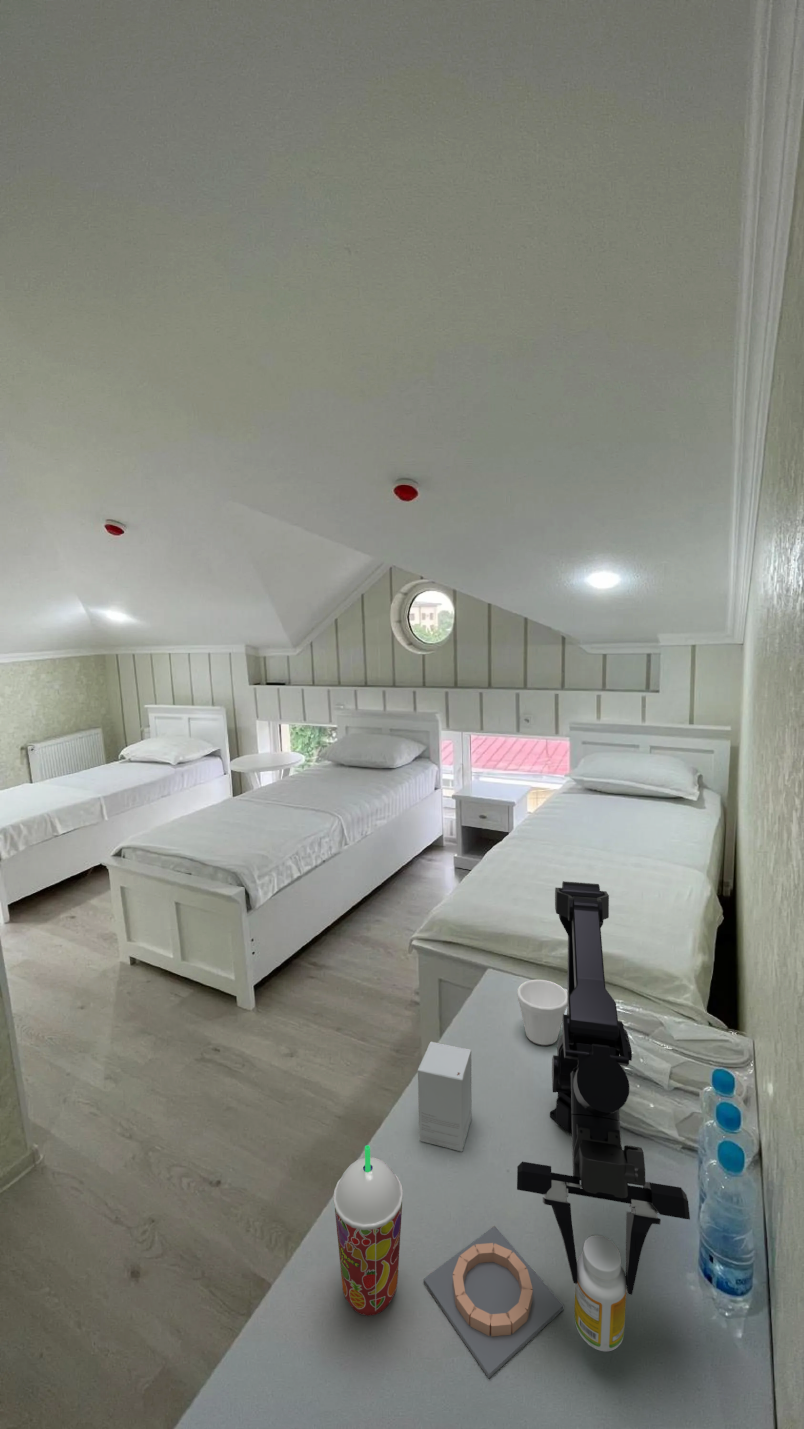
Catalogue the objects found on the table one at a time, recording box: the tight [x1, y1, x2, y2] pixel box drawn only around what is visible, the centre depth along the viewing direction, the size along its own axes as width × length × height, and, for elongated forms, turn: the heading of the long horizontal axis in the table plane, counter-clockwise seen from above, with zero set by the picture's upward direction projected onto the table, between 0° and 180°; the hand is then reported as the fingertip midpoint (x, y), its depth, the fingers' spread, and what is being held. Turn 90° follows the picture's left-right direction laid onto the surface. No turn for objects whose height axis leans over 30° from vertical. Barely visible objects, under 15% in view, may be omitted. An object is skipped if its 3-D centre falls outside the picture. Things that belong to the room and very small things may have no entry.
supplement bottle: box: [573, 1234, 627, 1352], centre depth 68 cm, size 5×5×10 cm
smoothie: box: [332, 1144, 404, 1317], centre depth 74 cm, size 8×8×20 cm
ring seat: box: [423, 1225, 564, 1379], centre depth 75 cm, size 12×12×2 cm
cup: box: [516, 979, 567, 1047], centre depth 122 cm, size 10×10×9 cm
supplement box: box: [417, 1041, 473, 1152], centre depth 99 cm, size 7×7×13 cm
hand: (602, 1288), depth 67 cm, fingers closed on supplement bottle, 5 cm apart
